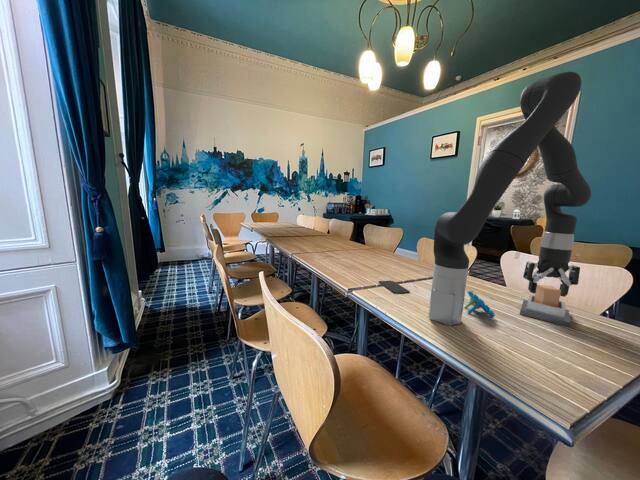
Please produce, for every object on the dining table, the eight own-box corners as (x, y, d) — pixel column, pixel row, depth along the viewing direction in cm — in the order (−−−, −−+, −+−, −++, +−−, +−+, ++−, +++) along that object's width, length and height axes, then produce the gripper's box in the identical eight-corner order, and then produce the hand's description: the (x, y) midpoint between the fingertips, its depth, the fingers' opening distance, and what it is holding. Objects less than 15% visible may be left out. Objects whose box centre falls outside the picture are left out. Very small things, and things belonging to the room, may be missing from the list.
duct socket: (569, 327, 76) (572, 313, 75) (519, 314, 84) (521, 301, 84) (567, 314, 86) (570, 301, 85) (523, 303, 94) (525, 292, 93)
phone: (392, 280, 115) (411, 291, 100) (392, 282, 115) (411, 293, 100) (377, 281, 113) (394, 292, 99) (377, 282, 113) (394, 294, 99)
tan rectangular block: (556, 313, 82) (561, 290, 81) (540, 311, 83) (545, 288, 82) (547, 308, 86) (551, 285, 85) (533, 306, 87) (536, 284, 86)
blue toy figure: (502, 318, 77) (478, 293, 78) (486, 330, 78) (463, 304, 79) (486, 308, 88) (465, 286, 89) (472, 318, 89) (451, 296, 90)
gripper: (537, 246, 79) (529, 295, 82) (592, 250, 76) (581, 301, 79) (524, 243, 87) (516, 288, 89) (573, 246, 84) (563, 293, 86)
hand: (547, 294), depth 84 cm, fingers open, 8 cm apart
